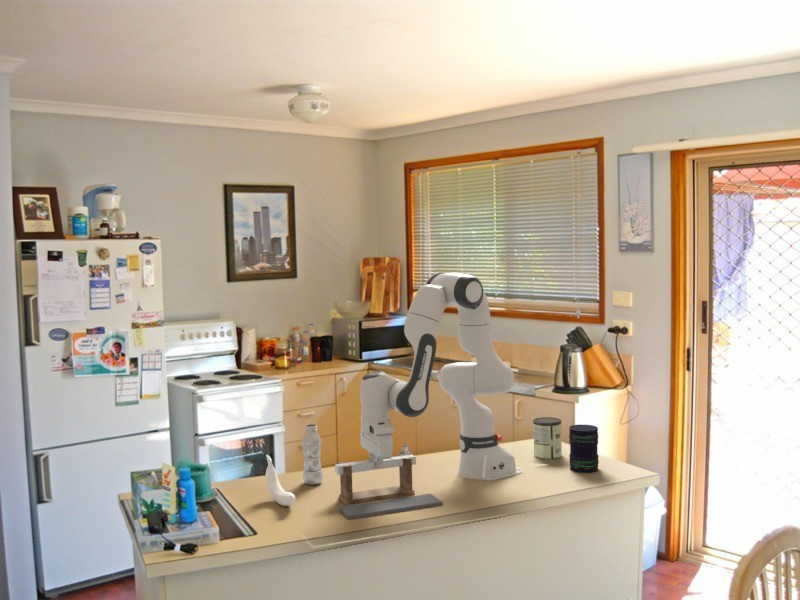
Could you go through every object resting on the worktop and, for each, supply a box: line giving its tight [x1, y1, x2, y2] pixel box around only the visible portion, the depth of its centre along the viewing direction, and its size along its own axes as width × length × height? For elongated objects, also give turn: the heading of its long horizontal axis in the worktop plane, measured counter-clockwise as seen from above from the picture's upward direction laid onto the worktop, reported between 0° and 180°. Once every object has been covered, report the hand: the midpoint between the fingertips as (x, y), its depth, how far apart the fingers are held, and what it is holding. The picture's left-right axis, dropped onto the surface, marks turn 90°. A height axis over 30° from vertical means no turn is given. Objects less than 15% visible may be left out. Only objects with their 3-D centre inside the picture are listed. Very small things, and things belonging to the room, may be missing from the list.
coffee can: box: [532, 416, 563, 461], centre depth 292 cm, size 10×10×14 cm
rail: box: [334, 454, 417, 475], centre depth 250 cm, size 26×3×2 cm, turn 112°
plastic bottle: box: [301, 423, 324, 486], centre depth 265 cm, size 6×7×20 cm
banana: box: [265, 454, 296, 507], centre depth 244 cm, size 5×19×15 cm, turn 35°
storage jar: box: [568, 424, 599, 474], centre depth 275 cm, size 10×10×15 cm
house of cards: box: [398, 442, 413, 456], centre depth 291 cm, size 9×9×8 cm
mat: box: [338, 493, 444, 520], centre depth 239 cm, size 30×9×1 cm, turn 112°
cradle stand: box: [338, 454, 416, 505], centre depth 251 cm, size 23×7×12 cm, turn 112°
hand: (376, 466), depth 250 cm, fingers closed on rail, 3 cm apart
